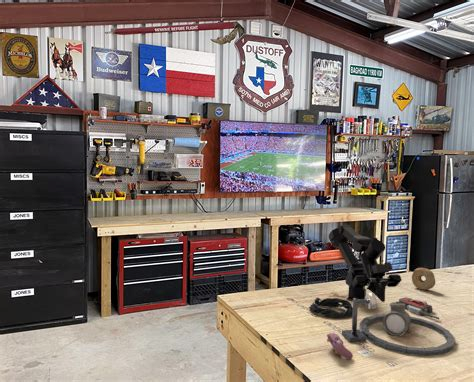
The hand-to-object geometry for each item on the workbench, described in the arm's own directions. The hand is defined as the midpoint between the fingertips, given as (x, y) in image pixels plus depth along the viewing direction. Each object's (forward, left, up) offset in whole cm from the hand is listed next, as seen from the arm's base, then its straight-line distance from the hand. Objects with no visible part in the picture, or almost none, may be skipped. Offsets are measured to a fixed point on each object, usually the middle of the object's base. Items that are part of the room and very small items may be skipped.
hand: (383, 301), depth 158 cm
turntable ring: (+10, -11, -7) cm, 16 cm away
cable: (-19, -5, -7) cm, 21 cm away
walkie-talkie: (+11, +16, -7) cm, 21 cm away
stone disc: (+7, +48, -7) cm, 49 cm away
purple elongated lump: (-5, -37, -7) cm, 38 cm away
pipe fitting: (+7, -8, -7) cm, 13 cm away
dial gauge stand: (-3, -23, -7) cm, 24 cm away
